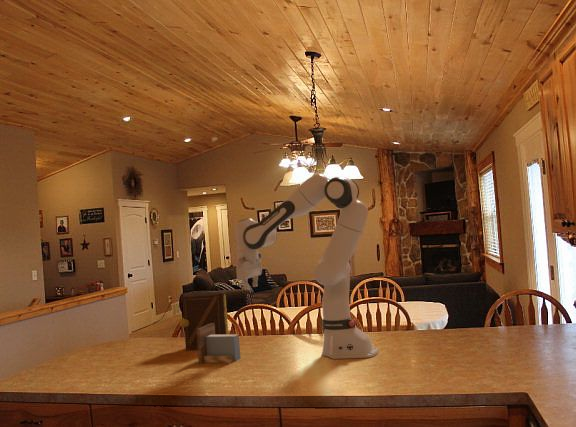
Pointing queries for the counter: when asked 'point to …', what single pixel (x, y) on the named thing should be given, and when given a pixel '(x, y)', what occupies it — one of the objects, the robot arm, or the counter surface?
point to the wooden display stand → (202, 349)
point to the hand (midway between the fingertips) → (251, 288)
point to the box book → (223, 346)
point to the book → (203, 315)
